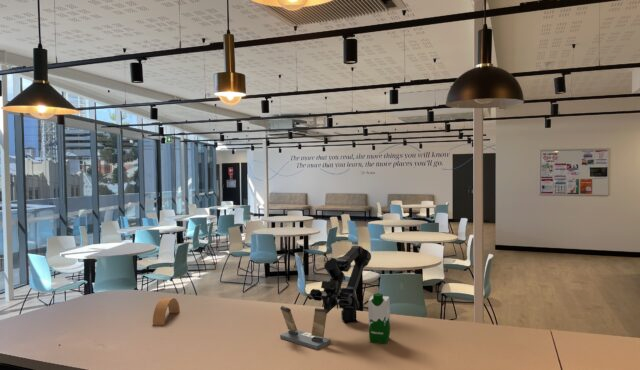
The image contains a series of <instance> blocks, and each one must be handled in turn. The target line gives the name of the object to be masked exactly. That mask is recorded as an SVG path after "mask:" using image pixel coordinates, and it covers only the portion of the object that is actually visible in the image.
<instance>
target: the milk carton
mask: <svg viewBox="0 0 640 370" xmlns="http://www.w3.org/2000/svg"><path fill="white" fill-rule="evenodd" d="M367 304H368V333H369V335H368V336H369V337H368V338H369V342H370V343H377V344H385V345H387V343H388V341H389V339H390V334H391V333H390V332H391V302H390V296H384V295H383V294H382V293H373V295H371V296H370V297H369V299H368V303H367Z"/></svg>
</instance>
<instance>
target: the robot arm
mask: <svg viewBox="0 0 640 370" xmlns="http://www.w3.org/2000/svg"><path fill="white" fill-rule="evenodd" d="M371 260H372V254H371V252H370V251H369V250H368V249H365V248H363V247H362V246H361V245H352V246H351V248H350V249H349V250H348V251H347V252H346V253H344V255H342V256H338V257H336V258H335V257H331V258H330V259H328V260H327V261H326V262H325V263H324V264H323V267H324V269H325V271H326V272H327V274H328V276H329V277H330V279H329V280H322V281H321V286H320V288H321V289H323V291H324V292H322V291H321V290H320V289H318V288H317V289H316V288H313V289H311V290H310V292H309V295H310V296H311V298H312V299H313V300H314V301H316V302H317V301H319V302H320V301H322V302H323V309H327V314H328V313H329V312H331V310H333V309H334V308H335V307H337V306H339V309H342V310H341V311H340V312H341V313H340V315H341V320H342V322H343V323H345V324H347V323H358V320H357V310H359V309H360V302H359V300H358V296H357V293H356V292H357V288H358V285H359V283H360V280H361V276H362V274H363V271H364V268H365V267H367V266H368V265H369V263H370V261H371ZM353 262H354V264H353V268H352V263H353ZM351 268H352V269H351ZM350 269H351V270H352V271H351V273H350V276H349V279H348V282H347V285H346V287H342V285H343V282H344V281H345V280H346V276H345V273H344V272H346V273H348V272H349V271H350Z"/></svg>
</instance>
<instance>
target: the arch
mask: <svg viewBox="0 0 640 370" xmlns="http://www.w3.org/2000/svg"><path fill="white" fill-rule="evenodd" d="M179 303H180V302H179V301H178V299H177V298H175V297H174V298H172V297H169V298H168V297H167V298H165V297H163V298H161V299H159V300H158V302H157V303H156V306H155V308H154V311H153V314H152V326H165V323H166V320H165V319H166V314H167V309H168V313H169V314H179V313H180V312H181V310H180V309H181V308H180V305H179Z"/></svg>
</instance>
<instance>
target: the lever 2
mask: <svg viewBox="0 0 640 370" xmlns="http://www.w3.org/2000/svg"><path fill="white" fill-rule="evenodd" d="M327 314H328V313H327V309H324V308H320V307H315V308H314V314H313V321H312V328H311V334H312V336H318V337H324V338H325V330H326V322H327V317H328V315H327Z"/></svg>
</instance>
